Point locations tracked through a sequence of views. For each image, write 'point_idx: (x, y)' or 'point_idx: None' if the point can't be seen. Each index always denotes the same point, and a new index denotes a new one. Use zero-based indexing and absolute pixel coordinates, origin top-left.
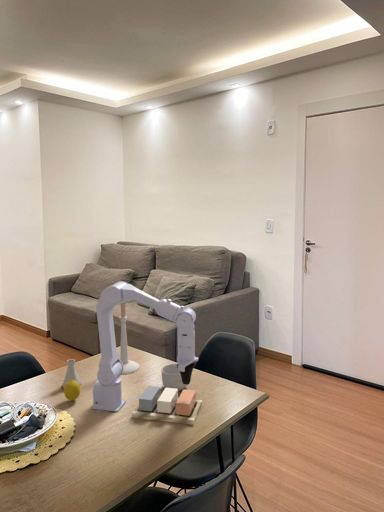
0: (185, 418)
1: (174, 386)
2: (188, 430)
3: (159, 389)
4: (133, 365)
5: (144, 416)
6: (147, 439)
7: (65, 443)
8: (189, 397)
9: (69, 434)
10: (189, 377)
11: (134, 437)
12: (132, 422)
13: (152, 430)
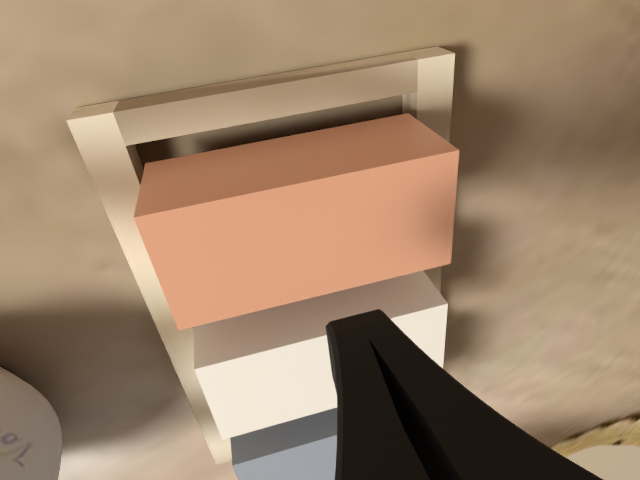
0: (438, 128)
1: (40, 413)
2: (513, 55)
3: (254, 449)
4: None
5: None
6: (602, 231)
7: (609, 427)
8: (323, 209)
9: (561, 449)
10: (464, 388)
11: (584, 286)
12: (465, 357)
13: (525, 251)
